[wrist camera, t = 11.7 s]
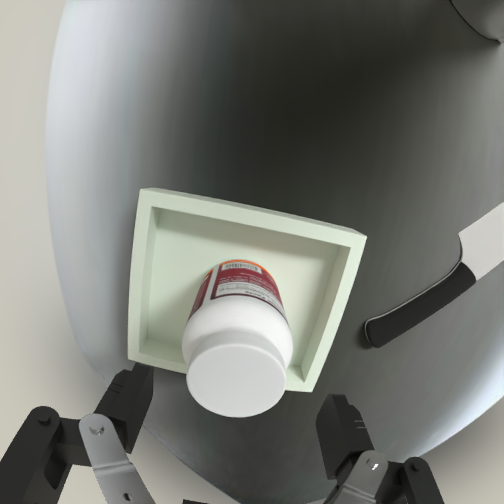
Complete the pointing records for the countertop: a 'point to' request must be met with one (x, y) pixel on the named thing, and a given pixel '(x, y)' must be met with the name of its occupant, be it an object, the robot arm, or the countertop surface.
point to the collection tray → (235, 247)
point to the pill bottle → (237, 341)
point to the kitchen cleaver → (446, 279)
